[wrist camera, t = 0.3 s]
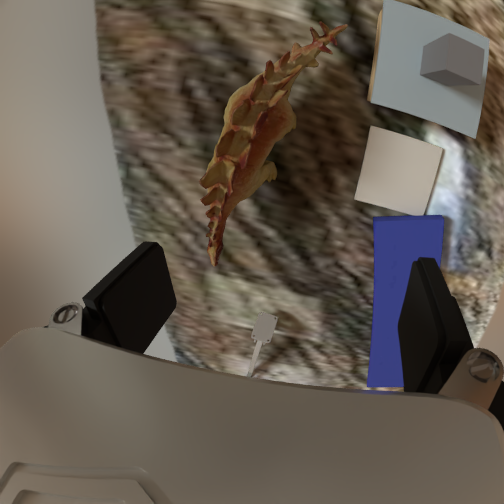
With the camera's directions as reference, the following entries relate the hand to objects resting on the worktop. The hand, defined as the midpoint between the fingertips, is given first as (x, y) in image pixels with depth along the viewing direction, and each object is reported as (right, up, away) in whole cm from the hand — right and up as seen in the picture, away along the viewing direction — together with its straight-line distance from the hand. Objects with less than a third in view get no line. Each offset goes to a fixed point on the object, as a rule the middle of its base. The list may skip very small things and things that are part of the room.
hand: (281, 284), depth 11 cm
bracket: (0, -17, +46) cm, 49 cm away
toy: (+1, +17, +26) cm, 31 cm away
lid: (+18, +20, +11) cm, 29 cm away
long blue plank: (+23, -9, +33) cm, 42 cm away
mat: (+18, +11, +24) cm, 32 cm away
